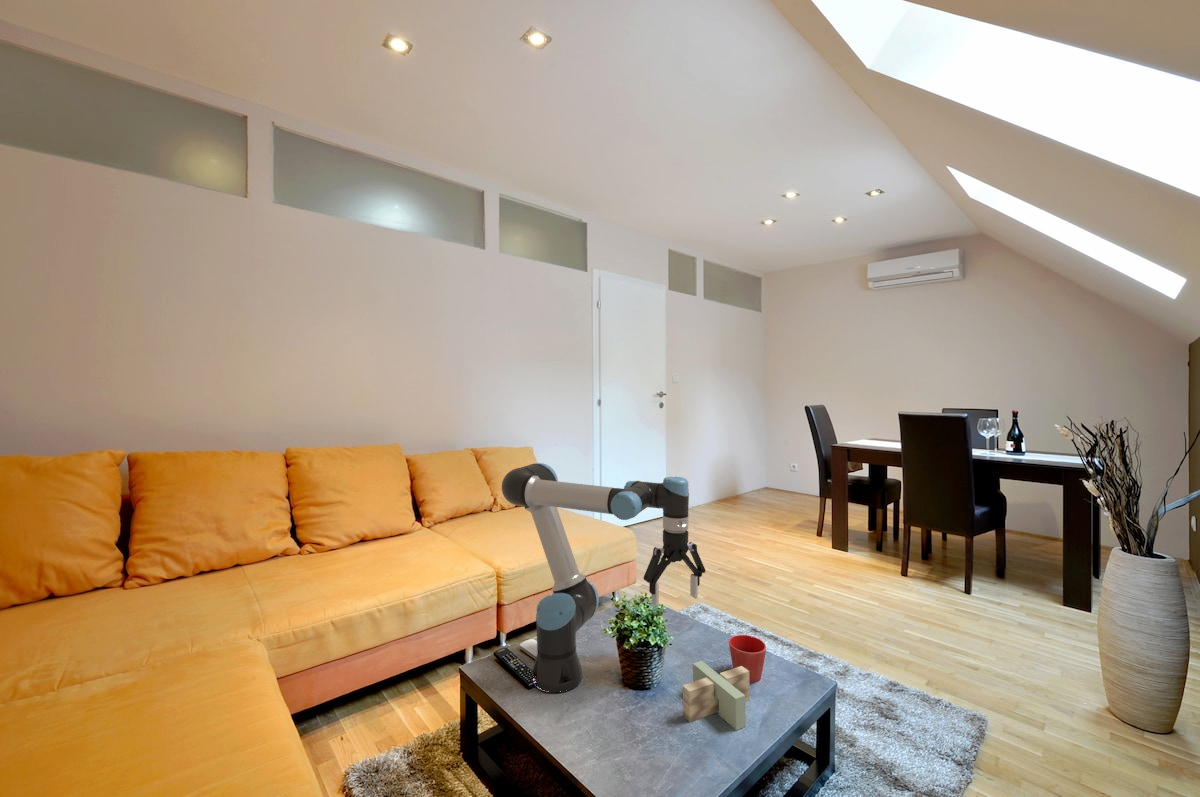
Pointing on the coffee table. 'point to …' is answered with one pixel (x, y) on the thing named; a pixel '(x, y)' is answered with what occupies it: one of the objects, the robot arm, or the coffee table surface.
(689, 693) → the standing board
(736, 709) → the cross piece
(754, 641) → the flower pot
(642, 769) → the coffee table surface
